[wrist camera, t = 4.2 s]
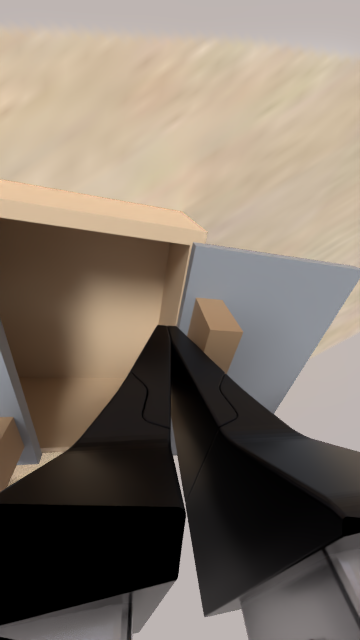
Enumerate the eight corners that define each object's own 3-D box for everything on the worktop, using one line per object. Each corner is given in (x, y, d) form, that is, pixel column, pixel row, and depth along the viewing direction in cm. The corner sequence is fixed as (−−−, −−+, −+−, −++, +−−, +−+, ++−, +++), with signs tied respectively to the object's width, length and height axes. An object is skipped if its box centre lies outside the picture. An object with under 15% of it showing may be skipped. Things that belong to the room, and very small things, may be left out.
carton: (155, 378, 23) (159, 446, 17) (-22, 376, 19) (-93, 459, 14) (182, 211, 14) (207, 232, 9) (-119, 158, 11) (-404, 133, 5)
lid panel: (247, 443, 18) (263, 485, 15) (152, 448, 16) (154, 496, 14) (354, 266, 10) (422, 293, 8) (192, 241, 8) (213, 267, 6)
